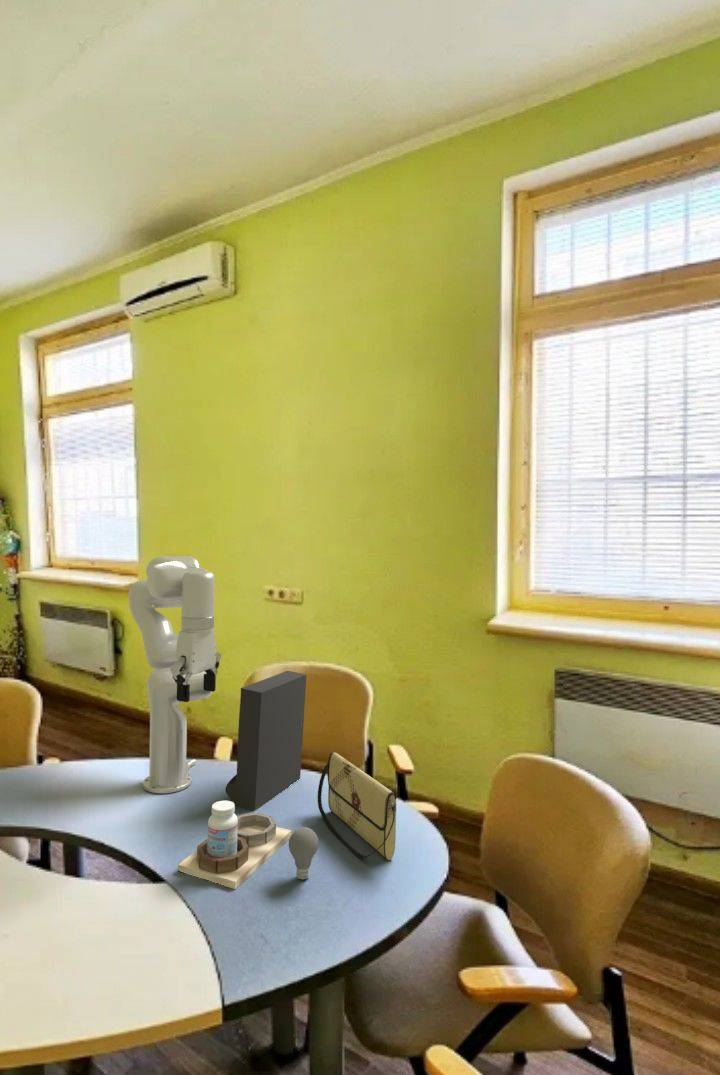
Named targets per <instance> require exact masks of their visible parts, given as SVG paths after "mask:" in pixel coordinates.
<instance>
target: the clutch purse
mask: <svg viewBox="0 0 720 1075" xmlns="http://www.w3.org/2000/svg"><path fill="white" fill-rule="evenodd" d="M321 772H322V773H321V775H320V779H319V782H318V789H317V807H318V810H319V812H320V815H321V816H322V820H323V821H324V823H325V824H326V826H327V828H328V829H329V830H330V831H331V832H332V834H333V835H334V837H335V838H336V839H337V840H338V841H339V843H341V844H342V845H343V846H344V847H345V848H346V849H347V850H348V851H349V852H350V853H351V854H353V855H355V856H356V857H357V858H359V859H362V860H363V859H366V858H368V857H370V856H371V855H373V854H375V853H376V852H378V853H380V855H381V856H383V857H384V858H385V860H386V861H387V862H388V861H391V860H392V859H393V857H394V854H395V850H396V836H397V835H396V834H397V832H396V831H397V830H396V826H397V824H396V823H397V821H396V820H397V795H396V793H395V792H393V791H392V790H391V789H390V788H387V787H386V786H385V785H383V784H382V783H380V782H379V781H377V779H375V778H373V777H371V776H370V775H369V774H368V773H366V772H364V771H363V770H361V769H360V768H359V767H357V766H356V765H355V764H353V762H350V761H349V760H348V759H346V758H344V757H343V756H341V755H340V754H339V753H338V752H336V751H331V753H330V754H329V757H328V761H327V762H326V764H325V766H324V768H323V770H322V771H321ZM326 774H327V784H328V795H327V796H328V800H327V801H328V808H329V810H330V812H333V814H335V815H336V816H337V817H338V818H340V819H341V820H342V821H343V822H344V823H346V825H348V826H349V828H351V829H352V830H353V831H354V832H356V834H358V835H359V836H360V838H362V839H363V840H364V841H366V842H367V843H368V844H369V846H371V847H372V848H374V849H375V851H373V852H371V853H370V854H368V855H362V854H361V853H360V852H358V851H357V850H355V848H353V847H352V846H351V845H350V844H349V843H348V842H347V841H346V840H345V839H344V838H342V836H341V835H340V834H339V833H338V831H337V830H336V829H335V827H334V826H333V824H332V823H331V822H330V820H329V818H328V817H327V814H326V813H325V810H324V808H323V805H322V804H323V803H322V793H323V785H324V780H325V777H326Z"/></svg>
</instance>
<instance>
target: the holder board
mask: <svg viewBox="0 0 720 1075" xmlns="http://www.w3.org/2000/svg"><path fill="white" fill-rule="evenodd" d="M236 816H237V818H238V830H237V854H236V855H235V856H230V857H225V858H219V859H217V858H213V857H210V856H207V840H208V838H206V839H205V840H204V841H202V842H201V843H200V844H198V845H197V847H196V850H195V851H193V852H192V853H191V854H190V855H188V856H187V857H186V858H184V859H182V861H181V862H179V863H178V864H177V871H178V870H179V871H183V872H186V873H189V874H192V875H195V876H198V877H201V878H204V879H207V880H210V881H212V882H211V883H213V882H215V883H214V884H216V883H219V884H218V885H220V884H221V885H220V886H223V885H224V886H223V887H228V888H230V889H233V890H237V888H239V887H240V886H241V884H243V883H244V882H245V881H246V880H247V879H248V878H249V877H250V876H252V875H253V874H254V873H255V872H256V871H257V870H258V869H259V868H260V867H261V866H262V865H264V863H265V862H267V860H268V859H270V858H271V857H272V856H273V855H274V854H275V853H276V852H277V851H278V850H279V849H280V848H281V847H283V845H284V844H286V842H289V839H290V836H291V835H292V830H291V829H287V828H282V827H279V826H277V823H276V822H275V819H274V818H273V816H271V815H268V814H265V813H260V812H250V813H244V814H243V813H242V814H239V815H236ZM210 881H209V882H210Z"/></svg>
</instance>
